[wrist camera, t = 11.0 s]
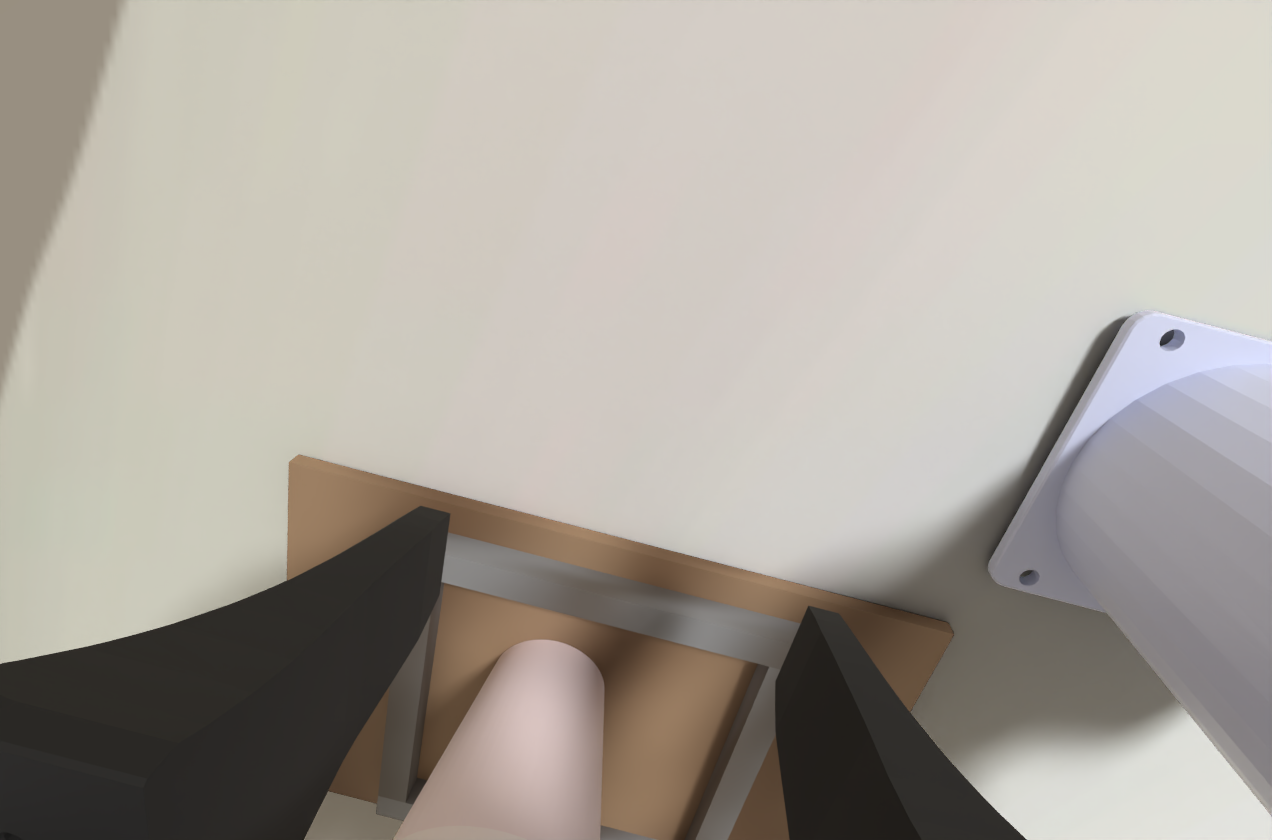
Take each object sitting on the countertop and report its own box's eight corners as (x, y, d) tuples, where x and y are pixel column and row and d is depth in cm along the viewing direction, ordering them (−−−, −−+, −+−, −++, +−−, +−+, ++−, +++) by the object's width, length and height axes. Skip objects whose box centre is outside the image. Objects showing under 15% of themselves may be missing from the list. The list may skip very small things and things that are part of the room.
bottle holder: (948, 622, 20) (966, 659, 19) (794, 897, 26) (799, 941, 24) (298, 454, 20) (268, 478, 19) (291, 768, 26) (267, 803, 24)
